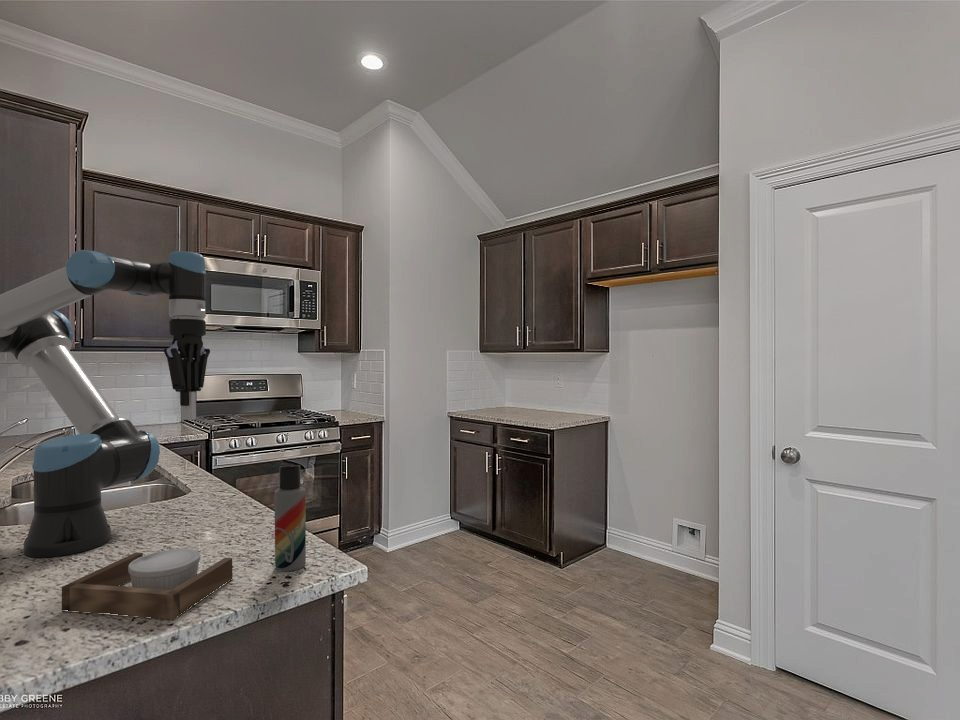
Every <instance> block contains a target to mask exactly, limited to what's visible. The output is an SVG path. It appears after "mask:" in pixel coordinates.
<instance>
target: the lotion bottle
mask: <svg viewBox="0 0 960 720" xmlns="http://www.w3.org/2000/svg"><path fill="white" fill-rule="evenodd" d="M278 475H279V479H278V480H279V481H278V482H279V483H278V485H279V488H277V489H275V490H274V564H275V565H274V567H275V569H276V570H277V571H278V572H285V571H286V572H293V570H294V571H297V569H298V570H300V569H302V568H304V567H305V565H306V560H307V559H306V558H307V555H306V553H307V549H306V548H307V547H306V546H307V542H306V540H307V539H306V534H307V533H306V529H307V527H306V526H307V525H306V518H307V517H306V513H307V512H306V488H305V487H303V486H301V484H302V483H301V481H302V480H301V465H300V464H295V465H285V466H284V465H282V466H281V465H280V466H279V473H278Z"/></svg>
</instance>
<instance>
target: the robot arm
mask: <svg viewBox="0 0 960 720" xmlns="http://www.w3.org/2000/svg"><path fill="white" fill-rule="evenodd" d="M205 262H206V261H205V257H204V256H203V255H202V254H201V253H198V252H195V251H186V250H185V251H184V250H183V251H182V250H180V251H179V250H178V251H177V250H176V251H172V252H170V253H169V254H168V259H167V261H166V262H165V261H164V262H149V261H144V260H140V259H139V260H138V259H134V258H129V257H125V256H124V257H123V256H119V255H113V254H109V253H104V252H101V251H99V250H97V251H96V250H87V249H79V250H76V251H74V252H73V253H71V256H70V257H69V258H67V260H66V263H65V266H64V267H62V268H59V269H57V270H54V271H52V272H50V273H48V274H44V275H43V276H40V277H38V278H36V279H33V280H31V281H29V282H26V283H23V284H21V285H20V286H17V287H15V288H13V289H10V290H8V291H5V292H3V293H1V294H0V353H9V354H10V353H11V354H12V355H13V357H14V358H15V359H16V360H17V362H18V363H19V364H20V365H21V366H23V367H27V368H32V369H33V372H34V373H35V374H36V376H37V377H38V378H39V380H40V381H41V382H42V384H43V386H45V389H47V390H48V392H49V394H50V395H51V396H52V397H53V400H54V401H55V402H56V403H57V405H58V407H59V408H60V409H61V411H62V412H63V413H64V414H65V415H66V417H67V419H68V420H69V421H70V423H71V424H72V426H73V427H74V428H75V429H76V432H78V434H74V435H66V436H60V437H56V438H53V439H48V440H46V441H45V442H42V443H40V444H39V445H38V446H37V447H36V448H35V450H34V452H33V463H32V465H31V466H32V471H33V517H32V519H31V523H30V526H29V530H28V533H27V536H26V538H25V539H24V540H23V554H24V556H27V557H31V558H52V557H61V556H68V555H72V554H73V555H74V554H78V553H83V552H85V551H88V550H91V549H95V548H98V547H100V546H102V545H104V544H107V543H109V542H110V540H111V539H112V530H111V529H112V528H111V526H110V524H109V523H108V519H107V517H106V513H105V511H104V509H103V506H102V489H105V488H109V487H113V486H118V485H122V484H125V483H129V482H135V481H137V480H139V479H142V478H144V477H147V476H148V475H150V474H151V473H152V472H153V471H154V470H155V469H156V467H157V465H158V464H159V461H160V454H161V448H160V444H159V441H158V438H157V437H156V436H155V435H154V434H153V433H152V432H150V431H145V430H142V429H141V430H137V428H136V427H135V425H134V424H133V423H132V422H131V420H130V419H128V418H122V417H121V418H120V417H119V416H118V414H117V413H116V412H115V409H114V408H112V406H111V405H110V404H109V402H108V401H107V399H106V398H105V396H104V395H103V394H102V393H101V391H100V390H99V389H98V387H97V386H96V385H95V383H94V382H93V380H92V379H91V378H90V376H89V375H88V373H87V372H86V371H85V369H84V368H83V367H82V366H81V364H80V363H79V361H78V360H77V358H75V355H73V354H72V352H71V349H72V346H73V342H72V341H73V337H74V333H73V332H72V331H73V327H72V324H71V322H70V320H69V319H68V318H67V317H66V315H65V314H63V313H61V312H60V311H58V310H60V309H63V308H66V307H67V306H69V305H73V304H74V303H78V302H79V301H81V300H83V299H87V298H89V297H91V296H94V295H96V294H101V293H102V292H104V291H108V290H111V291H112V290H113V291H118V292H119V291H120V292H127V293H128V294H131V295H133V296H144V297H147V296H154V295H155V296H157V295H168V316H169V317H170V318H171V319H170V320H169V322H168V323H169V324H168V325H169V326H168V327H169V328H168V329H169V333H168V334H170V335H169V336H173V338H172V342H171V346H169V347H165V348H164V349H163V353H164V355H165V356H166V361H167V365H168V370H169V375H170V381H171V386H172V390H174V391H175V392H177V393H179V399H180V400H179V404H180V419H181V420H182V421H192V420H197V403H198V402H197V401H198V400H197V392H201V391H202V389H203V388H204V385H205V377H206V371H207V365H208V363H207V362H208V358H209V355H210V353H211V349H210V348H205V346H204V342H203V336H206V334H207V322H206V321H205V320H204V319H205V318H206V317H207V316H206V281H207V280H206V278H207V277H206V275H207V272H206V263H205Z"/></svg>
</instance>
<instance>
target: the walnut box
mask: <svg viewBox="0 0 960 720" xmlns="http://www.w3.org/2000/svg"><path fill="white" fill-rule="evenodd" d="M142 556H144V553H143V552H134V553H131V554H129V555H127V556H125V557H123V558H120V559H118V560H116V561H114V562H112V563H110V564H108V565H105V566H103V567H102V568H99V569H97V570H95V571H92V572H90V573H88V574H86V575H84V576H82V577H79V578H78V579H75V580H74V581H71V582H69V583H67V584H65V585H63V586H61V611H62V610H68V611H79V612H90V613H110V614H118V615H128V616H139V617H151V618H160V619H159V620H162V619H174V618H176V617H177V616H179V615H180V614H181V613H183V612H184V611H186V610H187V609H189V608H190V607H191V606H193V605H194V604H195V603H197V602H199V601H200V600H201V599H203V598H204V597H206V596H207V595H209V594H210V593H212V592H213V591H215V590H216V589H218V588H219V587H220V586H222V585H223V584H225V583H226V582H228V581H229V580H231V579H232V580H233V558H232V557H223V558H222V559H220V560H219V561H217V562H215V563H213V564H212V565H211V566H209V567H206V568H205V569H204V570H202V571H200V572H199V573H197V575H195V576H194V577H192V578H190V579H189V580H187V581H185V582H184V583H182V584H180V585H179V586H177V587H175V588H174V589H172V590H163V589H149V588H134V587H131V586H122V585H121V584H123V583H124V584H126V583H128V582H130V581H131V577H130V574H129V572H128V566H129V564H130V563H131V562H132V561H134V560H136V559H137V558H140V557H142ZM129 580H130V581H129ZM232 580H231V581H232ZM127 581H128V582H127ZM125 582H126V583H125ZM228 583H229V582H228ZM124 584H123V585H124ZM119 585H121V586H119ZM225 585H226V584H225ZM218 590H219V589H218ZM215 592H216V591H215ZM212 594H213V593H212ZM209 596H210V595H209ZM206 598H207V597H206ZM199 603H200V602H199ZM193 607H194V606H193ZM190 609H191V608H190ZM190 609H189V610H190ZM186 612H187V611H186ZM183 614H184V613H183ZM180 616H181V615H180ZM180 616H179V617H180ZM177 618H178V617H177ZM177 618H176V619H177ZM174 620H175V619H174Z"/></svg>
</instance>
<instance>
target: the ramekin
mask: <svg viewBox="0 0 960 720" xmlns="http://www.w3.org/2000/svg"><path fill="white" fill-rule="evenodd" d="M200 561H201V553H200V552H199V551H198V550H195V549H193V548H192V549H191V548H173V549H167V550H159V551H155V552H151V553H149V554H145V555H143V556H142V557H140V558H137V559H136V560H134V561H132V562H131V563H130V564H129V566H128V572H129V574H130V577H131V580H130V582H131V586H132V587H134V588H149V589H163V590H172V589H174V588H175V587H177V586H179V585H180V584H182V583H184V582H185V581H187V580H189V579H190V578H192V577H194V576H195V575H197V574H198V571H199V570H198V569H199V562H200Z"/></svg>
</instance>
